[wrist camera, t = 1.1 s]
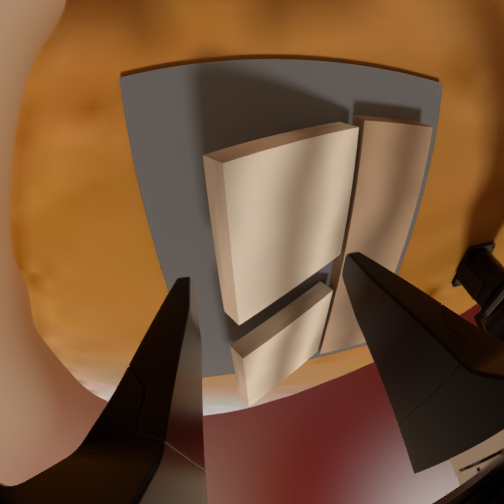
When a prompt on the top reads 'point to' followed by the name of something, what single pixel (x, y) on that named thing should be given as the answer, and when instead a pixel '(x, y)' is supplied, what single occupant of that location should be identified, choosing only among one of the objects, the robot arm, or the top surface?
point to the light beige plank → (278, 211)
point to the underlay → (234, 133)
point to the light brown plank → (376, 210)
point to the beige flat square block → (280, 344)
